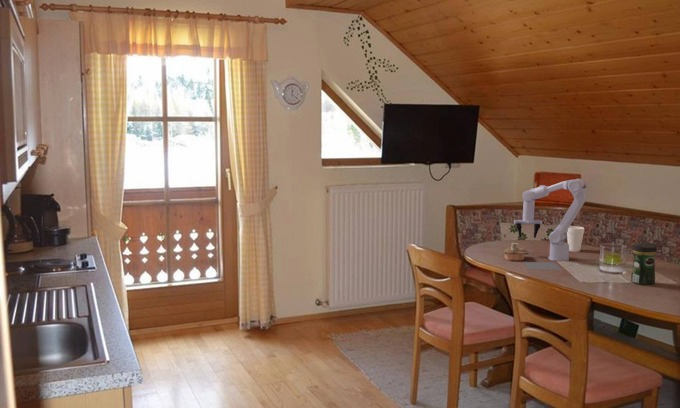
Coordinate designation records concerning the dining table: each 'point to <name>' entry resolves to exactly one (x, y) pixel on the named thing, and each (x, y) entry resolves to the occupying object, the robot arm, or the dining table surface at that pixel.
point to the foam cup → (575, 238)
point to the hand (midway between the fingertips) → (527, 237)
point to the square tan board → (515, 250)
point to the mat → (541, 265)
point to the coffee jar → (644, 263)
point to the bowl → (514, 256)
